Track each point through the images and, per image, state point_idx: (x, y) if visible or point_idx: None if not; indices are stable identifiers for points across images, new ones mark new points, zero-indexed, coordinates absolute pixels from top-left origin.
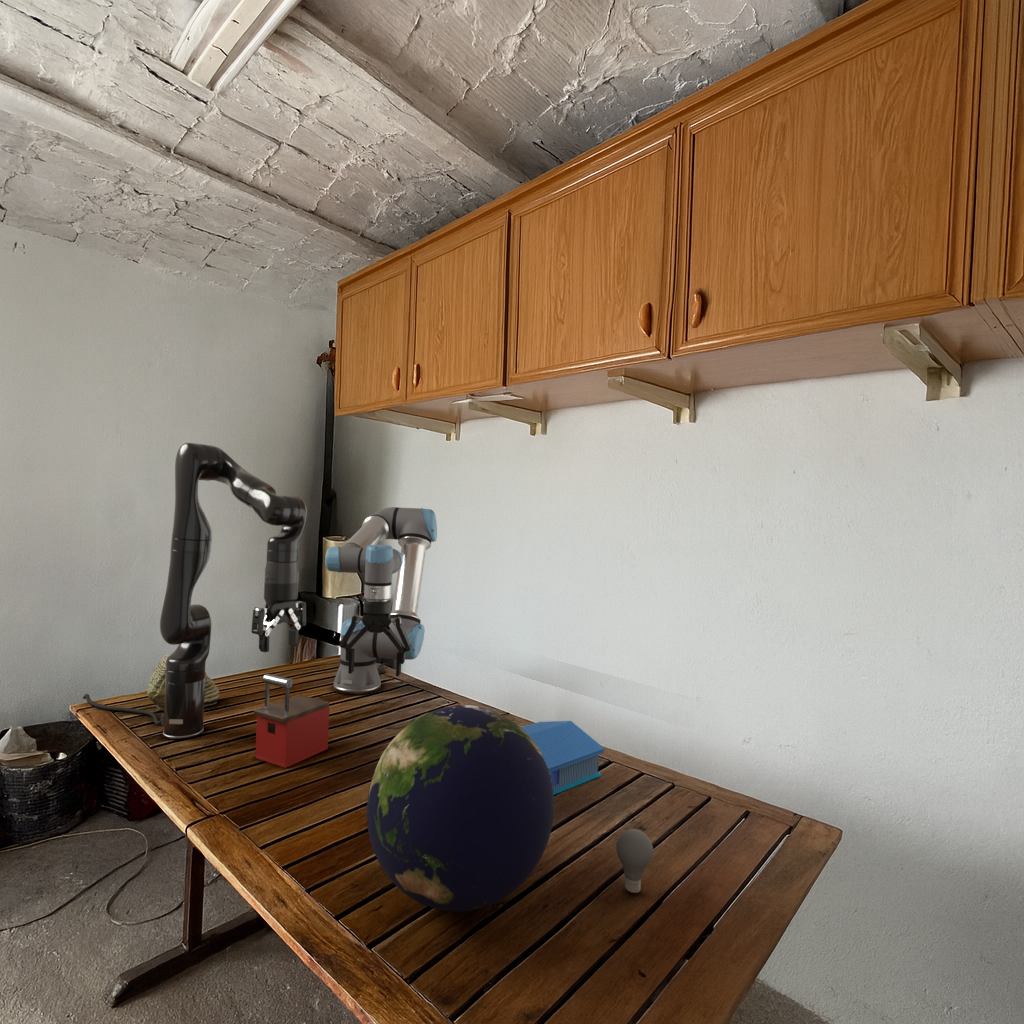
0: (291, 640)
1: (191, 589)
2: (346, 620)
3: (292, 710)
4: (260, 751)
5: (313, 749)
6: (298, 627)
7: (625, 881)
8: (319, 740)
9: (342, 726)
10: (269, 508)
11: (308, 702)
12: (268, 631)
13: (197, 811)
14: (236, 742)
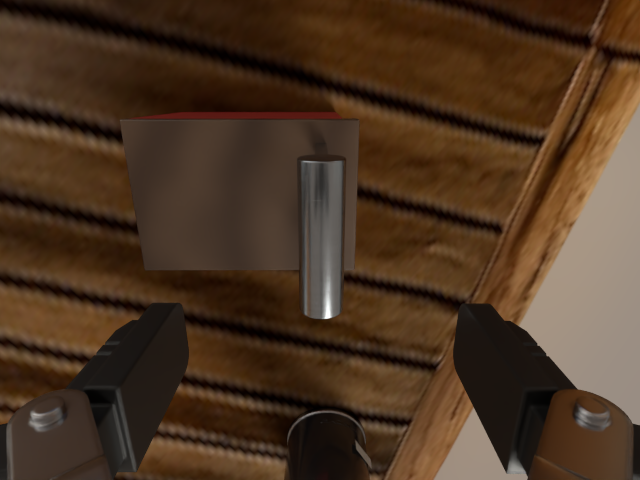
0: (173, 359)
1: None
2: None
3: (279, 162)
4: None
5: (234, 112)
6: (59, 405)
7: None
8: (207, 113)
9: (49, 198)
10: None
11: (181, 182)
12: (587, 435)
13: (601, 99)
14: (295, 323)
